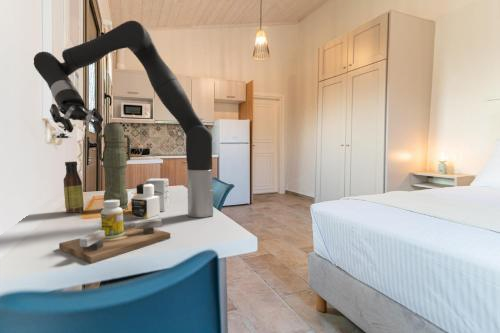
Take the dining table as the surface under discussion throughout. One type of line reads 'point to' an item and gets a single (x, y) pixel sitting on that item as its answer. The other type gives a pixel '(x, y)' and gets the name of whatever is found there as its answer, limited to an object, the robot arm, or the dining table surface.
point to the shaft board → (115, 241)
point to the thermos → (115, 162)
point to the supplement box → (161, 191)
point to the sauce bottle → (73, 189)
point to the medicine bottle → (145, 202)
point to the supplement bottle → (112, 219)
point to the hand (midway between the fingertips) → (86, 131)
